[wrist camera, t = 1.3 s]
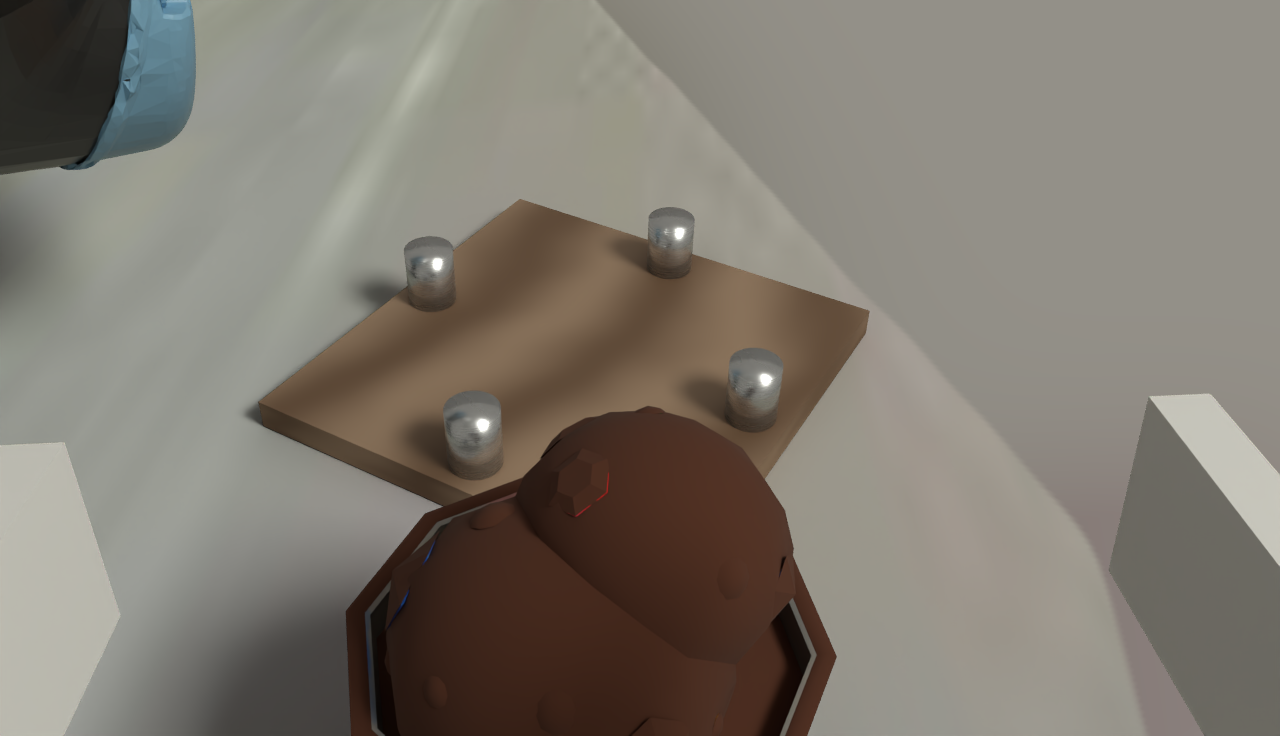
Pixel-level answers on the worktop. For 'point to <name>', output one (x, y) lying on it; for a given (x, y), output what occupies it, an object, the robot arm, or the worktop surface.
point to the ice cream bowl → (596, 600)
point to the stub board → (561, 352)
